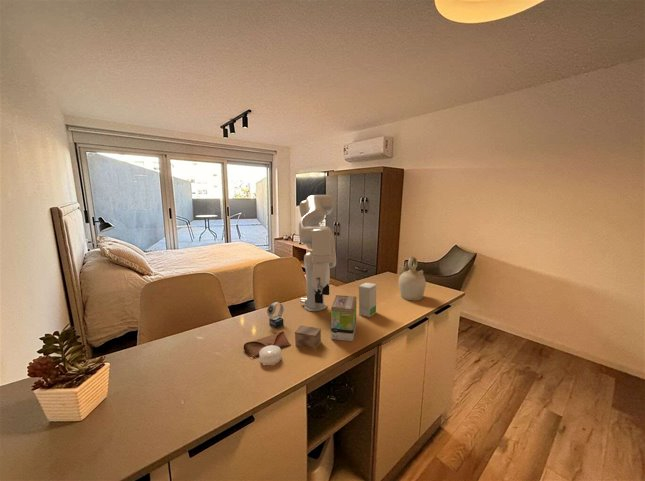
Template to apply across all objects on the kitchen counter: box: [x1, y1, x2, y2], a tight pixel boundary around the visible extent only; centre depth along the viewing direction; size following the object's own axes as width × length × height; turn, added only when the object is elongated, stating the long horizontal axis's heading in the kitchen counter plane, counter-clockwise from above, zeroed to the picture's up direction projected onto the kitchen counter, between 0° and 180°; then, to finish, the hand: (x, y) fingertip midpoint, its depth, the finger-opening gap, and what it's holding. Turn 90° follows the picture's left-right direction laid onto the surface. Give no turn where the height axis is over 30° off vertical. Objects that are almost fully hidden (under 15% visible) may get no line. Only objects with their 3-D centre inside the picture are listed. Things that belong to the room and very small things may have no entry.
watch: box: [266, 301, 285, 329], centre depth 125 cm, size 6×8×11 cm
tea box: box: [330, 294, 357, 342], centre depth 117 cm, size 15×10×15 cm
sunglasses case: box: [243, 331, 292, 359], centre depth 107 cm, size 18×7×7 cm
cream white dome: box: [259, 345, 282, 366], centre depth 99 cm, size 8×8×4 cm
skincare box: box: [358, 282, 377, 318], centre depth 135 cm, size 8×7×16 cm
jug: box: [398, 256, 427, 302], centre depth 156 cm, size 15×16×25 cm
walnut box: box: [294, 324, 322, 350], centre depth 109 cm, size 9×6×6 cm
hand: (322, 298), depth 109 cm, fingers open, 9 cm apart
